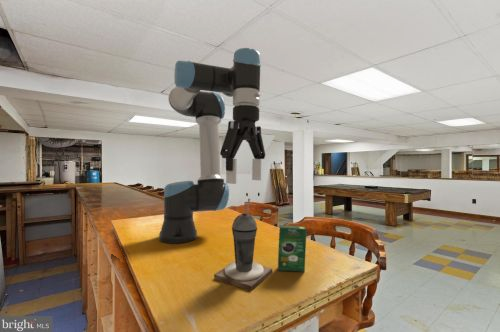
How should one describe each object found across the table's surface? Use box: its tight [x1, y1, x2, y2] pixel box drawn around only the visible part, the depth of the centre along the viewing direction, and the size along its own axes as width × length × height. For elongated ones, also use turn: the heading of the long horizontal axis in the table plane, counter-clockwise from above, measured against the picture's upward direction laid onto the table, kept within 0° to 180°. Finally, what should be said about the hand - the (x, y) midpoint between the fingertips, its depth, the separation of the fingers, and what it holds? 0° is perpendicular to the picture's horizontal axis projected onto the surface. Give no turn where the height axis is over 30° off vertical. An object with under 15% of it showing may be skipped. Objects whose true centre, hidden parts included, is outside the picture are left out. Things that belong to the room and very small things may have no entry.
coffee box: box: [277, 225, 307, 273], centre depth 75 cm, size 8×3×13 cm, turn 87°
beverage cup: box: [231, 198, 258, 272], centre depth 70 cm, size 7×7×20 cm
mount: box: [213, 261, 273, 292], centre depth 71 cm, size 12×12×2 cm
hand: (244, 181), depth 71 cm, fingers open, 13 cm apart
